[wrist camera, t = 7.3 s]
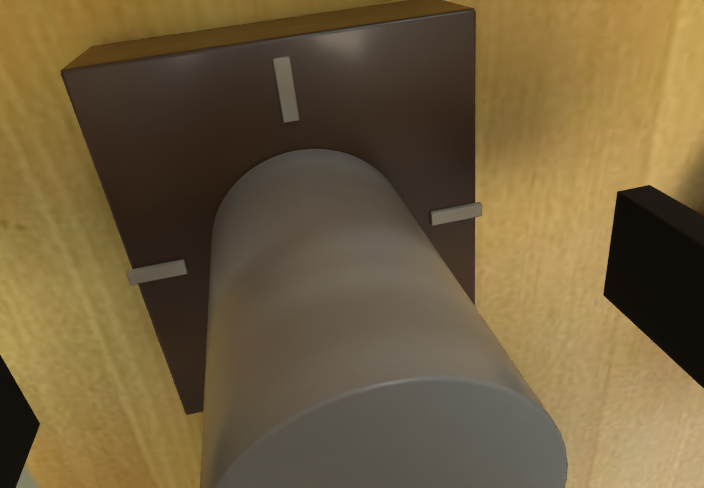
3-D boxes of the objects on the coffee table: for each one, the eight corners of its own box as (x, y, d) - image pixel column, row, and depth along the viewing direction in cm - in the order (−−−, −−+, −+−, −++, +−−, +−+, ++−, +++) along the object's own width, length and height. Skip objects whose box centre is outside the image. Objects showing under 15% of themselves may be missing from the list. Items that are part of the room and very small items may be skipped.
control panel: (445, 296, 20) (480, 353, 17) (188, 351, 19) (181, 421, 16) (436, -4, 15) (484, 8, 12) (84, 47, 14) (50, 72, 11)
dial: (332, 105, 13) (472, 317, 5) (438, 248, 15) (631, 525, 8) (167, 233, 13) (99, 572, 6) (295, 350, 16) (353, 689, 9)
